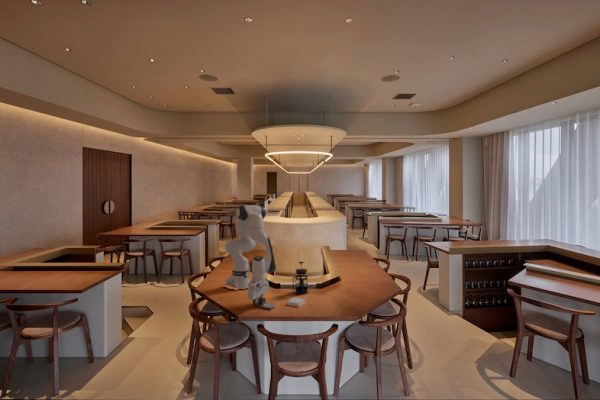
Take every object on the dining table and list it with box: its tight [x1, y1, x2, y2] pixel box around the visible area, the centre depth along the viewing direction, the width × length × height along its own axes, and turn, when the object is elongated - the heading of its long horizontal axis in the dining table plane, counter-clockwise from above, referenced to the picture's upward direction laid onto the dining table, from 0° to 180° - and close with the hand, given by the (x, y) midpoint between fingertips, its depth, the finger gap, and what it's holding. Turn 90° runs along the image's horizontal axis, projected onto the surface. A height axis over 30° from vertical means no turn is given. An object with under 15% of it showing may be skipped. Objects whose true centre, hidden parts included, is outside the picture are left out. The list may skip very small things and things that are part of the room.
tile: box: [286, 296, 306, 308], centre depth 210 cm, size 3×9×9 cm
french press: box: [292, 261, 309, 295], centre depth 232 cm, size 12×9×23 cm
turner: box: [252, 296, 277, 309], centre depth 205 cm, size 15×6×4 cm, turn 64°
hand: (259, 301), depth 207 cm, fingers closed on turner, 3 cm apart
